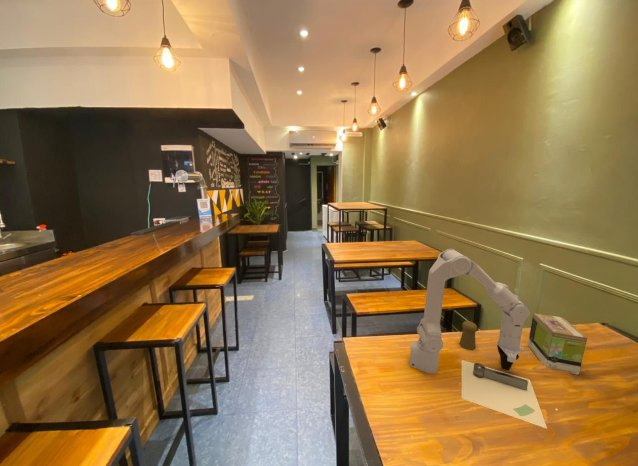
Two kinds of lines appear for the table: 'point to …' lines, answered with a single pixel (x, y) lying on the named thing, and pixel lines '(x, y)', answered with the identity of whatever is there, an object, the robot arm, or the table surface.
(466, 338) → the cork
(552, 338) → the tea box
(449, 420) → the table surface
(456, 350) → the table surface
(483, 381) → the dial board
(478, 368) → the pointer
